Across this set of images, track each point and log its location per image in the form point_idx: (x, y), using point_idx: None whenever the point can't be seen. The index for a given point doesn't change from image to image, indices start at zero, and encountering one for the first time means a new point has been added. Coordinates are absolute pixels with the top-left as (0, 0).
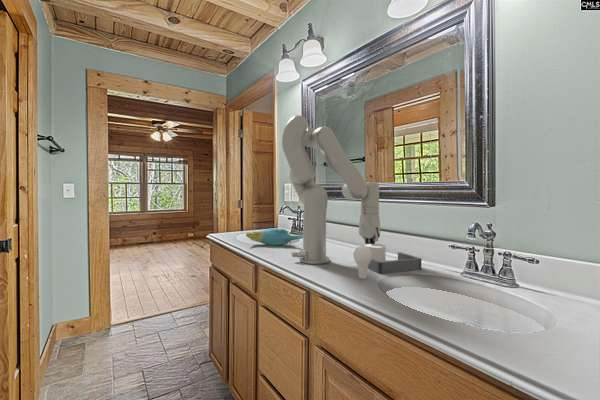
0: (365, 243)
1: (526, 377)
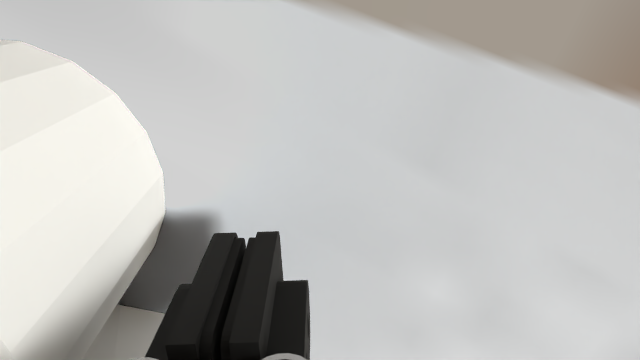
0: (289, 356)
1: None
